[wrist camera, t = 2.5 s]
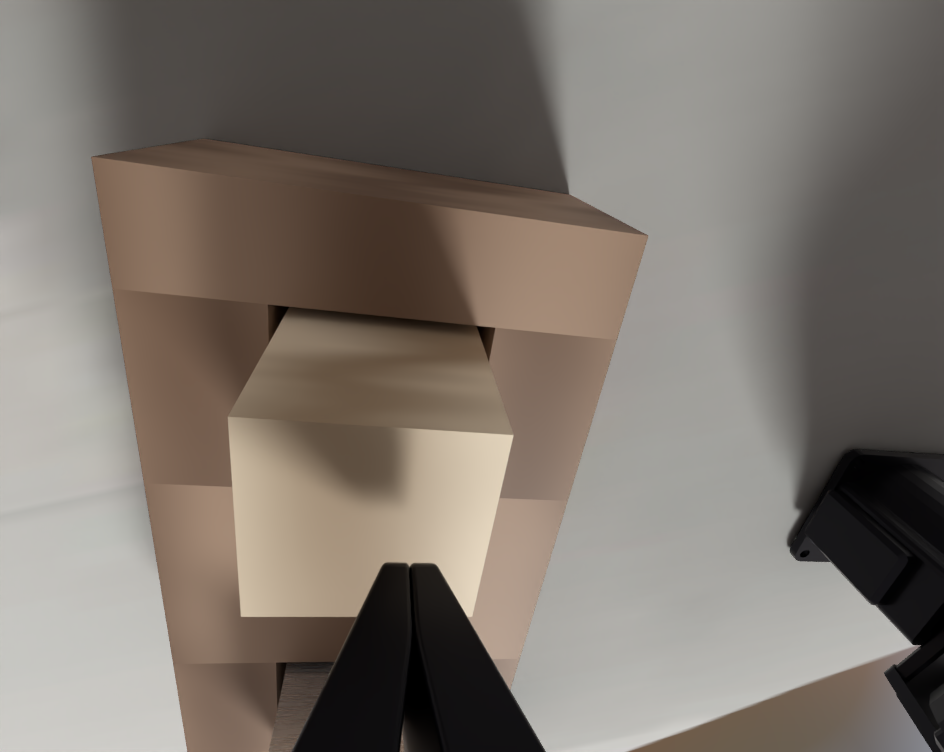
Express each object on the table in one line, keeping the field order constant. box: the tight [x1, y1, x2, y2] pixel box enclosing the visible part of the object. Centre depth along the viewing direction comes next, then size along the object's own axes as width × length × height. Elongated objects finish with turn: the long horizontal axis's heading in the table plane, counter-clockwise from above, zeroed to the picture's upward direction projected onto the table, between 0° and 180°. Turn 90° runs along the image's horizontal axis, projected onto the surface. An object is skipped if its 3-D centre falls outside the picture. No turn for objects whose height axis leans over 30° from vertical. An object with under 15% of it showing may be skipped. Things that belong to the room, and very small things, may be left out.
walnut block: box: [91, 139, 648, 752], centre depth 18 cm, size 11×22×6 cm, turn 171°
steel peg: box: [269, 662, 404, 752], centre depth 17 cm, size 4×4×6 cm
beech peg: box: [228, 307, 514, 617], centre depth 11 cm, size 4×4×6 cm
